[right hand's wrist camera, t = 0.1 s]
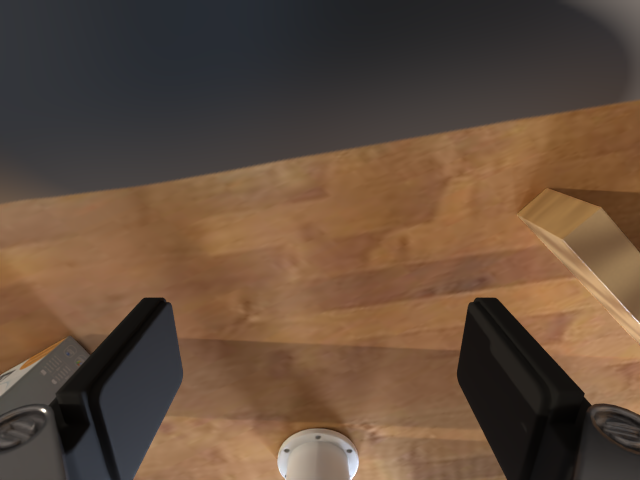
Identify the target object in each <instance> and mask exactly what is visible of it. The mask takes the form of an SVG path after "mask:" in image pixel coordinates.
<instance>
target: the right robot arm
mask: <svg viewBox="0 0 640 480" xmlns="http://www.w3.org/2000/svg"><path fill="white" fill-rule="evenodd" d="M182 378H183V369H182V363H181V357H180V351H179V345H178V339H177V333H176V327H175V321H174V315H173V310H172V305H171V303H170V302H166V300H165V299H164V298H143V299H142V300H141V301H140V302H139V303H138V304H137V305H136V307H135V308H134V309H133V310H132V311H131V312H130V313H129V314H128V315H127V316H126V317H125V318H124V320H123V321H122V322H121V323H120V324H119V325H118V326H117V327H116V328H115V329H114V330H113V331H112V333H111V334H110V335H109V336H108V337H107V338H106V339H105V340H104V341H103V342H102V343H101V344H100V346H99V347H98V348H97V349H96V350H95V351H94V352H93V353H92V354H91V355H90V356H89V357H88V359H87V360H86V361H85V362H84V363H83V364H82V365H81V366H80V367H79V368H78V369H77V370H76V372H75V373H74V374H73V375H72V376H71V377H70V378H69V379H68V380H67V381H66V382H65V383H64V385H63V386H62V387H61V388H60V389H59V390H58V391H57V392H56V393H55V394H56V398H55V399H54V400H53V401H52V402H51V403H50V404H49V405H46V404H30V405H24V406H21V407H18V408H15V409H12V410H10V411H8V412H6V413H4V414H2V415H0V480H133V478H134V476H135V474H136V472H137V470H138V468H139V466H140V464H141V462H142V460H143V458H144V456H145V454H146V452H147V450H148V448H149V446H150V444H151V442H152V440H153V438H154V436H155V434H156V432H157V430H158V428H159V426H160V425H161V423H162V421H163V419H164V417H165V415H166V413H167V411H168V409H169V407H170V405H171V403H172V401H173V399H174V397H175V395H176V393H177V391H178V389H179V387H180V385H181V382H182ZM457 378H458V382H459V385H460V387H461V389H462V391H463V393H464V395H465V397H466V399H467V401H468V403H469V405H470V407H471V409H472V411H473V413H474V415H475V417H476V419H477V421H478V423H479V425H480V426H481V428H482V430H483V432H484V434H485V436H486V438H487V440H488V442H489V444H490V446H491V448H492V450H493V452H494V454H495V456H496V458H497V460H498V462H499V464H500V466H501V468H502V470H503V472H504V474H505V476H506V478H507V480H640V415H638V414H636V413H634V412H632V411H630V410H628V409H625V408H622V407H619V406H616V405H610V404H594V405H591V404H590V403H589V402H588V401H587V400H586V399H585V398H584V394H585V393H584V392H583V391H582V390H581V389H580V388H579V387H578V386H577V385H576V383H575V382H574V381H573V380H572V379H571V378H570V377H569V376H568V375H567V374H566V373H565V372H564V370H563V369H562V368H561V367H560V366H559V365H558V364H557V363H556V362H555V361H554V360H553V359H552V357H551V356H550V355H549V354H548V353H547V352H546V351H545V350H544V349H543V348H542V347H541V346H540V344H539V343H538V342H537V341H536V340H535V339H534V338H533V337H532V336H531V335H530V334H529V333H528V331H527V330H526V329H525V328H524V327H523V326H522V325H521V324H520V323H519V322H518V321H517V320H516V318H515V317H514V316H513V315H512V314H511V313H510V312H509V311H508V310H507V309H506V308H505V307H504V305H503V304H502V303H501V302H500V301H499V300H498V299H497V298H476V299H475V300H474V302H470V303H469V305H468V310H467V315H466V321H465V327H464V333H463V339H462V345H461V351H460V357H459V363H458V369H457ZM358 464H359V461H358V453H357V449H356V447H355V445H354V444H353V443H352V442H351V440H350V439H348V438H347V437H346V436H344V435H342V434H341V433H339V432H336V431H333V430H329V429H320V428H315V429H307V430H303V431H300V432H298V433H295V434H294V435H292V436H290V437H289V438H288V439H287V440H286V441H285V442H284V443H283V444H282V446H281V447H280V450H279V453H278V468H279V471H280V473H281V474H282V476H283V477H284V478H285V479H286V480H350V479H352V477H353V476H354V475H355V473H356V471H357V469H358Z"/></svg>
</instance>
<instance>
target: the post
mask: <svg viewBox="0 0 640 480" xmlns="http://www.w3.org/2000/svg"><path fill="white" fill-rule="evenodd" d="M517 216H518V217H519V218H520V219H521V220H522V221H523V222H524V223H525V224H526V225H527V226H528V227H529V228H530V229H531V231H532V232H533V233H534V234H535V235H536V236H537V237H538V238H539V239H540V240H541V241H542V242H543V243H544V244H545V245H546V246H547V247H548V249H549V250H550V251H551V252H552V253H553V254H554V255H555V256H556V257H557V258H558V259H559V260H560V261H561V262H562V263H563V264H564V266H565V267H566V268H567V269H568V270H569V271H570V272H571V273H572V274H573V275H574V276H575V277H576V278H577V279H578V280H579V281H580V283H581V284H582V285H583V286H584V287H585V288H586V289H587V290H588V291H589V292H590V293H591V294H592V295H593V296H594V297H595V298H596V300H597V301H598V302H599V303H600V304H601V305H602V306H603V307H604V308H605V309H606V310H607V311H608V312H609V313H610V314H611V315H612V317H613V318H614V319H615V320H616V321H617V322H618V323H619V324H620V325H621V326H622V327H623V328H624V329H625V330H626V331H627V332H628V334H629V335H630V336H631V337H632V338H633V339H634V340H635V341H636V342H637V343H638V344H639V345H640V252H639V251H638V250H637V248H636V247H635V246H634V245H633V244H632V243H631V241H630V240H629V239H628V238H627V237H626V236H625V234H624V233H623V232H622V231H621V230H620V228H619V227H618V226H617V225H616V224H615V223H614V221H613V220H612V219H611V218H610V217H609V215H608V214H607V213H606V212H605V211H604V210H603V208H602V207H599V206H596V205H594V204H591V203H588V202H585V201H582V200H580V199H577V198H574V197H571V196H568V195H566V194H563V193H560V192H557V191H554V190H552V189H549V188H546V189H545V190H544V191H543V192H541V193H540V194H539V195H538V196H537V197H536V198H535V199H533V200H532V201H531V202H530V203H529V204H528V205H527V206H525V207H524V208H523V209H522V210H521V211H520V212H518V213H517Z"/></svg>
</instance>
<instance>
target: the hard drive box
mask: <svg viewBox="0 0 640 480" xmlns="http://www.w3.org/2000/svg"><path fill="white" fill-rule="evenodd" d="M89 356H90V355H89V354H88V353H87V352H86V351H85V349H84V348H83V347H82V346H81V345H80V344H79V343H78V342H77V341H76V340H75V339H74V338H73V337H72V336H68V337H66V338H64V339H62V340H61V341H59V342H57V343H55V344H53V345H52V346H50V347H48V348H47V349H45V350H43V351H42V352H40V353H38V354H36V355H35V356H33V357H31V358H29V359H28V360H26V361H24V362H22V363H21V364H19V365H17V366H15V367H13V368H12V369H10V370H8V371H6V372H5V373H3V374H1V375H0V415H2V414H4V413H6V412H8V411H10V410H12V409H15V408H18V407H21V406H24V405H30V404H46V405H49V404H50V403H51V402H52V401H53V400H54V399H55V398H56V394H55V393H56V392H57V391H58V390H59V389H60V388H61V387H62V386H63V385H64V383H65V382H66V381H67V380H68V379H69V378H70V377H71V376H72V375H73V374H74V373H75V372H76V370H77V369H78V368H79V367H80V366H81V365H82V364H83V363H84V362H85V361H86V360H87V359H88V357H89Z"/></svg>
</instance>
